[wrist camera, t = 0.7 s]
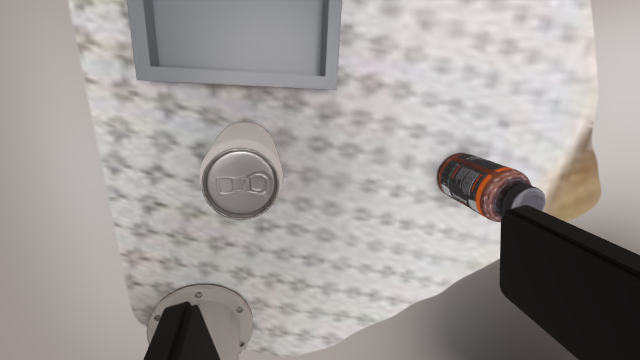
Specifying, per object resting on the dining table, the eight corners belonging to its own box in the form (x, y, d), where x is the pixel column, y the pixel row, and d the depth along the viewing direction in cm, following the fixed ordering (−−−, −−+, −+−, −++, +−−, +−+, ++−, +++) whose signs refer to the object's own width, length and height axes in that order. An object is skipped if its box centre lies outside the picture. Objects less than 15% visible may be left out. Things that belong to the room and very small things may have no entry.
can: (277, 176, 35) (286, 221, 24) (219, 180, 34) (201, 229, 23) (274, 120, 33) (283, 140, 22) (212, 122, 32) (188, 144, 21)
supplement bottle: (435, 198, 40) (498, 239, 30) (436, 155, 39) (504, 183, 28) (474, 191, 41) (549, 229, 31) (478, 149, 39) (559, 173, 29)
